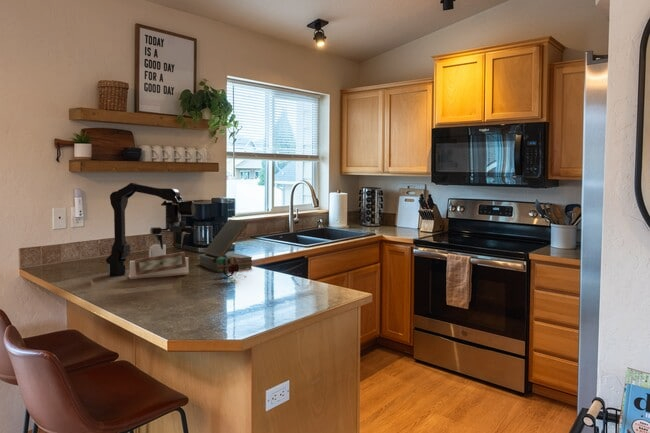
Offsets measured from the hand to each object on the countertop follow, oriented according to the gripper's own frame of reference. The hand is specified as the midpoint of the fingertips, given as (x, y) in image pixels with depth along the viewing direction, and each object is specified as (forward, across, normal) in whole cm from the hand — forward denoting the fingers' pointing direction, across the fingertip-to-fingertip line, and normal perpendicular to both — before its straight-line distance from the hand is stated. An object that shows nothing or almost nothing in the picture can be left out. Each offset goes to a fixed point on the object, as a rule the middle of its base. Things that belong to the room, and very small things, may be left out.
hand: (172, 248), depth 223 cm
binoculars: (+13, +22, -13) cm, 28 cm away
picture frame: (+6, -5, -1) cm, 8 cm away
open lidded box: (+13, +31, +14) cm, 36 cm away
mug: (+13, -1, +28) cm, 31 cm away
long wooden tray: (+13, -5, +2) cm, 14 cm away
